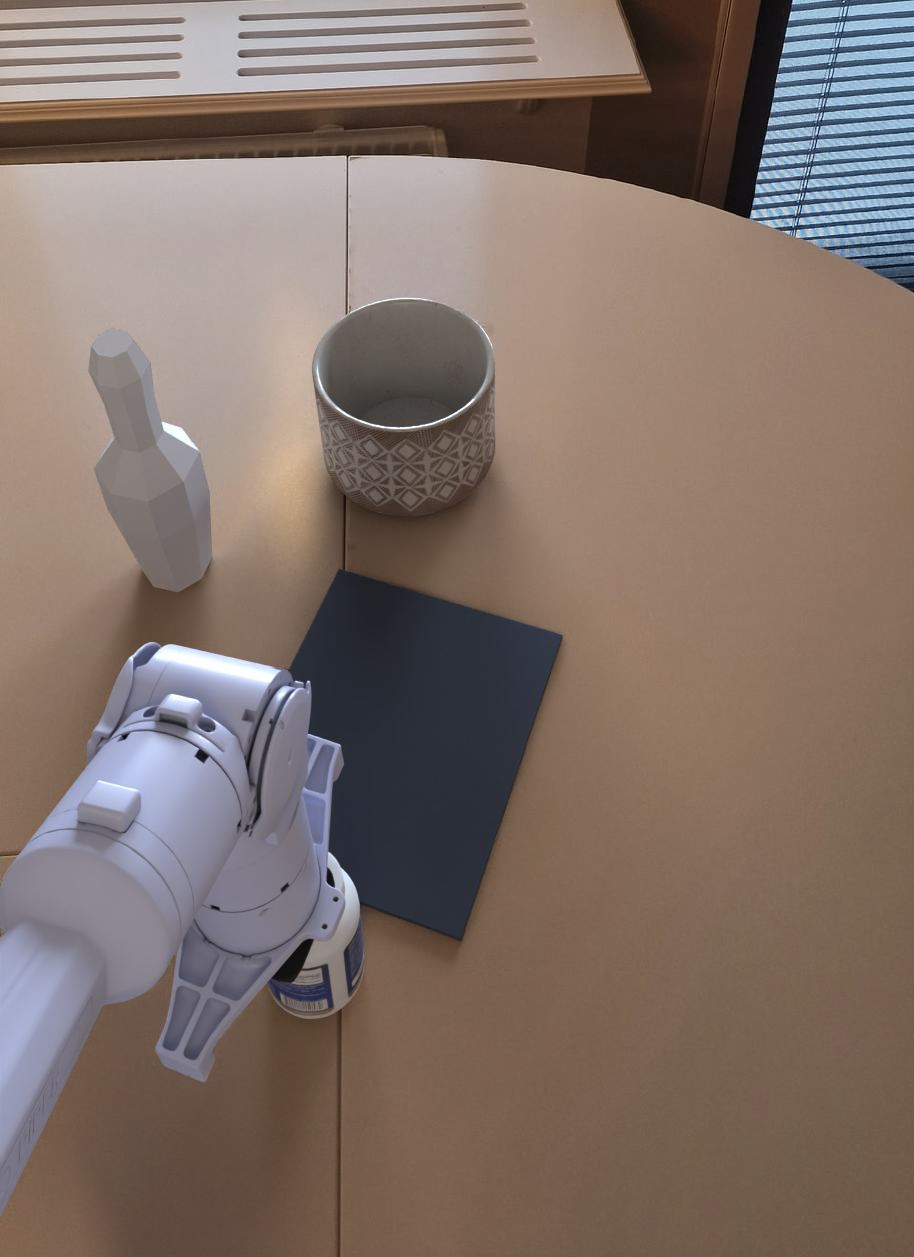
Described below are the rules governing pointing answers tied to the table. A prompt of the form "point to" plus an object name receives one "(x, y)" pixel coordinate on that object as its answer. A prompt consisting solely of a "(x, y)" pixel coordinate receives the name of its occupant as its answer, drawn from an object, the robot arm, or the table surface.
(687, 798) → the table surface
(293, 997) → the pill bottle
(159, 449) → the faceted bottle
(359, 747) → the mat
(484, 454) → the planter
